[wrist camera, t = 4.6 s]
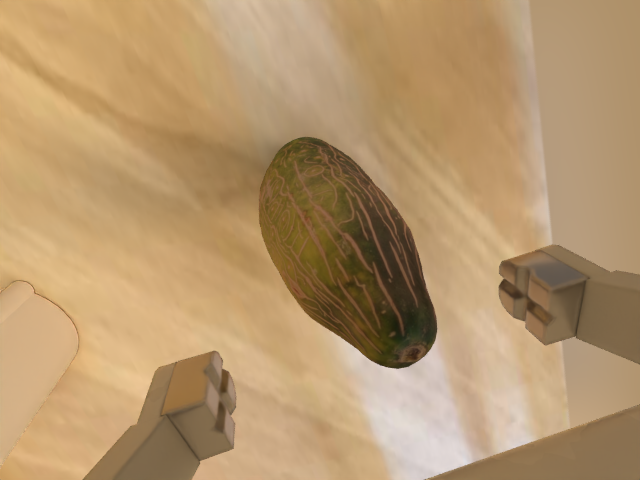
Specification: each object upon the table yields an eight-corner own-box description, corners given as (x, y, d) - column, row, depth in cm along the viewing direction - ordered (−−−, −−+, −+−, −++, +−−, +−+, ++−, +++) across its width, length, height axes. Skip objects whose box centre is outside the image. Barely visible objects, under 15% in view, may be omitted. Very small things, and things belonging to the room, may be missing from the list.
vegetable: (278, 215, 27) (318, 459, 10) (241, 145, 24) (202, 310, 7) (343, 185, 27) (508, 375, 9) (314, 111, 24) (472, 185, 7)
